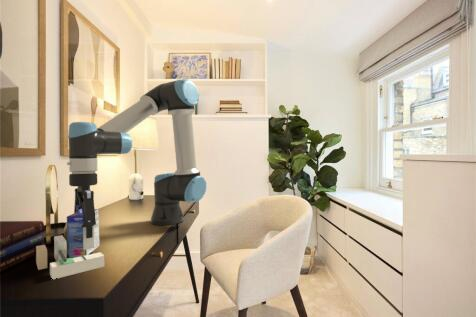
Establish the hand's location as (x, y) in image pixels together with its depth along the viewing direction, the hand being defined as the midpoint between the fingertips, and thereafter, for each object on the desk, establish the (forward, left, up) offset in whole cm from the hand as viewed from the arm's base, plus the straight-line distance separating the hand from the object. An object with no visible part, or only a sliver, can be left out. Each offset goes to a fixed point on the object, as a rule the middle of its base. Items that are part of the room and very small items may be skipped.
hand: (84, 244), depth 82 cm
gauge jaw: (+6, +5, -3) cm, 9 cm away
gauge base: (+5, +5, -4) cm, 8 cm away
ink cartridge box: (0, 0, -3) cm, 3 cm away
